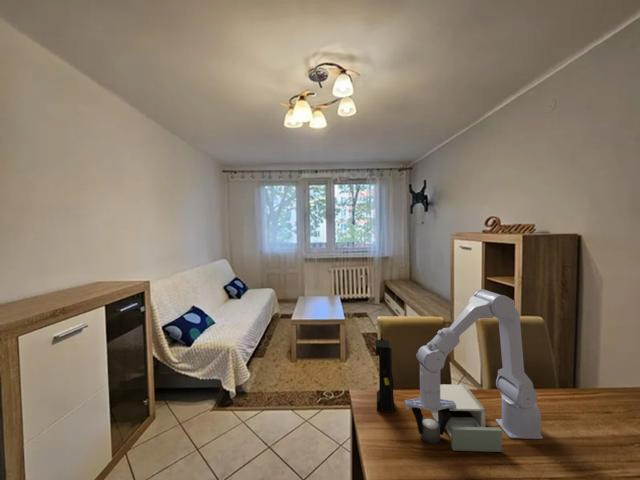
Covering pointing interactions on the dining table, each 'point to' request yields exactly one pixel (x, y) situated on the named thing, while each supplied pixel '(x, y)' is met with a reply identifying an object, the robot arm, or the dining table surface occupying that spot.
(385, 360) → the portable radio
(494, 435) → the grey green drawer
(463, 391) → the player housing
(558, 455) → the dining table surface
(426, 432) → the grey cylinder white face
